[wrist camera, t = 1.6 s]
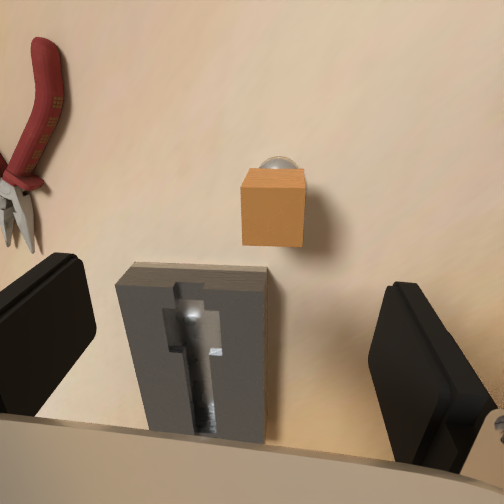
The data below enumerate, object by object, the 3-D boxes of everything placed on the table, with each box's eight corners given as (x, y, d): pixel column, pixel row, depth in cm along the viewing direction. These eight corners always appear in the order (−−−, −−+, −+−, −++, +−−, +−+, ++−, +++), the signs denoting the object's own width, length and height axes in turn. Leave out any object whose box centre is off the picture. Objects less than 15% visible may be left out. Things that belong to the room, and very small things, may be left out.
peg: (302, 156, 29) (305, 188, 21) (300, 201, 31) (302, 247, 22) (255, 156, 29) (240, 187, 21) (256, 200, 31) (242, 245, 23)
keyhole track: (267, 267, 34) (263, 291, 30) (266, 423, 45) (264, 456, 41) (134, 262, 36) (114, 284, 32) (165, 414, 47) (153, 446, 43)
